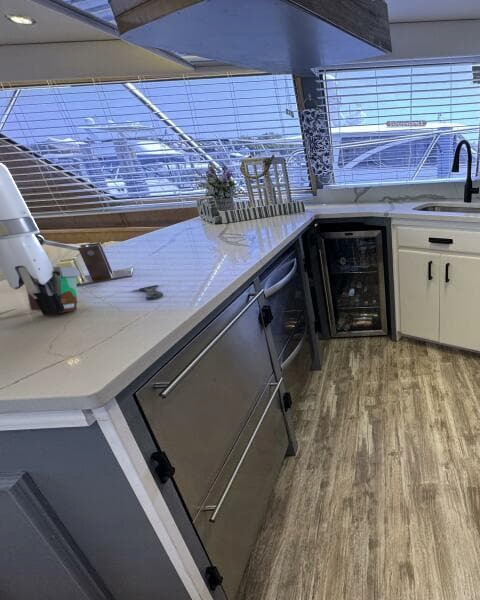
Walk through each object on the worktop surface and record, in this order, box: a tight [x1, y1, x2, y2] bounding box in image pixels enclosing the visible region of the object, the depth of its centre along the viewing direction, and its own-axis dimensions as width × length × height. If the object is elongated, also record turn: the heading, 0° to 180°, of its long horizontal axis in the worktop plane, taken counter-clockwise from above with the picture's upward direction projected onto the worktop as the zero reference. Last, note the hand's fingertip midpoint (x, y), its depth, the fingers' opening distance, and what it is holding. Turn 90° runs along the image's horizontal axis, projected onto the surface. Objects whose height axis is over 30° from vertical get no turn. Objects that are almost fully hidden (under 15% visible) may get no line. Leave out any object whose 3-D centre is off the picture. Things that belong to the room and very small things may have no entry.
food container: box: [25, 266, 81, 313], centre depth 75 cm, size 12×6×10 cm, turn 78°
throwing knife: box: [138, 284, 164, 300], centre depth 87 cm, size 4×20×1 cm, turn 44°
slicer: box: [77, 242, 134, 287], centre depth 94 cm, size 14×10×11 cm
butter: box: [55, 256, 86, 284], centre depth 92 cm, size 3×8×6 cm, turn 36°
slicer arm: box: [34, 233, 79, 252], centre depth 89 cm, size 14×3×3 cm, turn 126°
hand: (54, 312), depth 70 cm, fingers closed
